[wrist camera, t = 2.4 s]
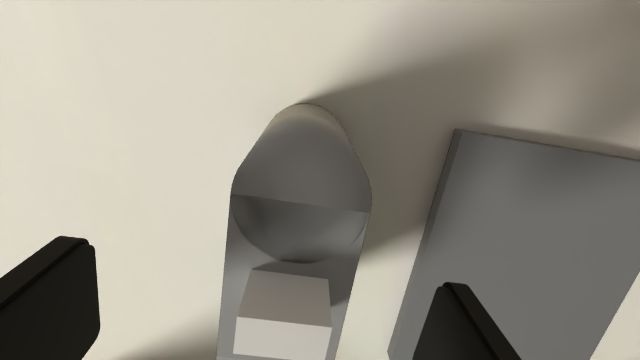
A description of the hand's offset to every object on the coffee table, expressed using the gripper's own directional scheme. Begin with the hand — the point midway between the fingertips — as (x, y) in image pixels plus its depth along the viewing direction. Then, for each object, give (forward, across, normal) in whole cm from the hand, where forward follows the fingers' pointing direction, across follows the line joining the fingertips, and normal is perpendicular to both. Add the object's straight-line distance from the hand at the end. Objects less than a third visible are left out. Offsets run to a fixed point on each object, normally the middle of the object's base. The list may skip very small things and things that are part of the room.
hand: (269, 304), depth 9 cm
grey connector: (+8, -1, 0) cm, 8 cm away
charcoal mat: (+8, -14, +2) cm, 16 cm away
